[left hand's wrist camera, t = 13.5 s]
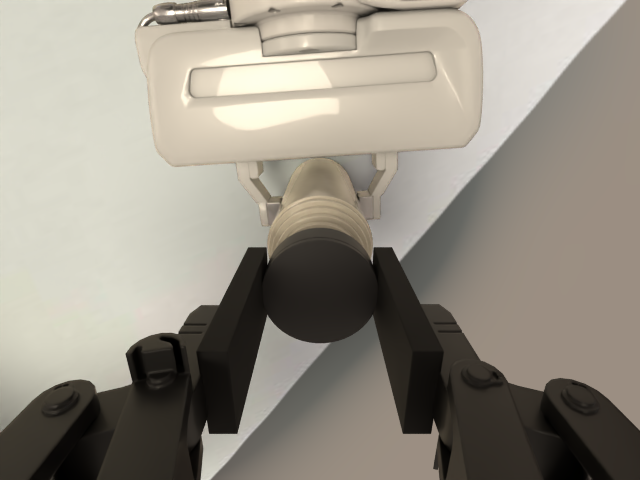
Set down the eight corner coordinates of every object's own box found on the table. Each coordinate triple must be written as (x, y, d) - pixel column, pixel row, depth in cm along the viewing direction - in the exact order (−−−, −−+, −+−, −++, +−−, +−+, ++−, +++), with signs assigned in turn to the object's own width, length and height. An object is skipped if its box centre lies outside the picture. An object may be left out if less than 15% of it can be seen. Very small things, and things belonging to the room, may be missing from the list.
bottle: (321, 231, 32) (322, 367, 15) (276, 190, 30) (223, 292, 14) (364, 188, 30) (417, 287, 14) (318, 143, 29) (316, 194, 12)
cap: (324, 339, 16) (325, 361, 15) (245, 281, 15) (237, 300, 13) (395, 272, 15) (403, 290, 13) (314, 204, 14) (313, 215, 12)
